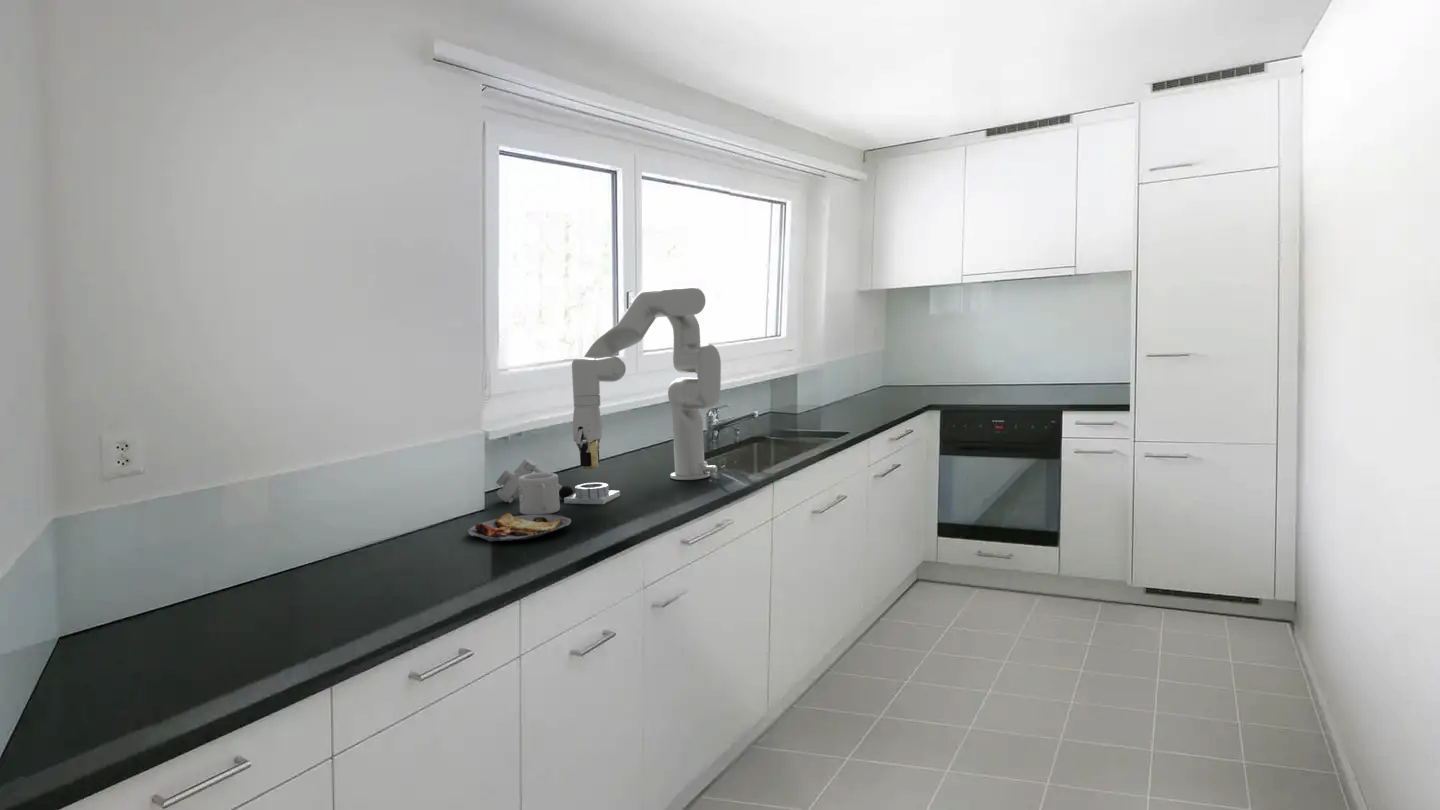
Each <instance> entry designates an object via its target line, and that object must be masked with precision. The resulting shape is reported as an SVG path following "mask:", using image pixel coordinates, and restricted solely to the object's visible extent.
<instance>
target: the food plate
mask: <svg viewBox="0 0 1440 810" xmlns="http://www.w3.org/2000/svg"><path fill="white" fill-rule="evenodd" d="M571 522H572V519H571V518H569V517H565V516H562V515H561V514H554V513H551V514H545V515H524V514H521V515H512V513H510V512H506V513H504V514H503V515H501V516H500V517H498V518H494V519H490V520H487V521H483V522H479V523H475V524H473V525H472V526H470V527H469V528H468V529H466V534H468V536H469V537H478V538H481V539H484V540H486V541H488V542H489V543H490V542H497V541H498V542H505V541H506V542H507V541H509V542H510V541H511V542H512V541H522V540H529V539H535V538H539V537H542V536H544V535H548V534H551V533H552V532H554V531H558V530H561V529H562V528H564V527H566V526H569V525H570V524H571Z"/></svg>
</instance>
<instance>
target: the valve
mask: <svg viewBox="0 0 1440 810" xmlns="http://www.w3.org/2000/svg"><path fill="white" fill-rule="evenodd" d="M537 466H538V465H537V463H536V462H535V461H534V460H533V459H531V458H528V457H525V458H524V459H523V460H522V462H521V463H520V464H519V465H518V467H517V468H515V470H514V471H513V472H512V471H510V470H509V469H505V470H504V471H503V472H502V474H501V475H500V476H499V477H498V479H497V480H496V482H495V484H497V485H498V486H499V487H502V488H499V489H498V490H497V491H496V494H497V495H498V498H500V499H501V500H503V501H504V502H505V503H507V502H508V503H509V504H511V503H512V502H513V501H514V498H517V496H519V484H518V478H519V477H520V476H522V475H526V474H532V473H545V472H544V471H542V470H541V469H539V468H538V467H537ZM558 490H559V498H560V499H562V500H563V501H564V498H566V497H568V496H570V495H572V494H574V490H573V487H571V486H569V485H563V486H562V485H561V484H560V483H558Z"/></svg>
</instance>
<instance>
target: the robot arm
mask: <svg viewBox="0 0 1440 810" xmlns="http://www.w3.org/2000/svg"><path fill="white" fill-rule="evenodd" d="M705 306H706V296H705V293H704V292H703V291H702V290H701V289H700V288H698V287H696V286H683V287H667V288H666V287H665V288H652V289H651V288H650V289H649V288H648V289H644V290H641V291H640V292H639V293H638V294H636V296H635V297H634V299H633V300H632V302H631V304H630V305H629V307H628V308H627V310H626V311H625V313H624V314H623V316H622V317H621V319H620V320H619V321H618V323H617V324H615V326H613V327H611V328H610V329H608V331H606V332H605V333H604V334H602V335H601V336H600V337H599V338H597V339H596V340H595V341H594V342H593V344H592V345H591V346H590V347H589V349H588V350H587V352H586V353H585V355H584V356H583V358H582V357H579V358H578V357H577V358H574V359H573V360H572V362H571V375H572V376H571V377H572V393H573V394H572V396H573V397H572V398H573V415H572V440H573V441H574V442H575V444H576V446H577V448H578V452H579V459H580V460H579V461H580V467H581V468H582V467H590V466H592V463H591V452H590V442H591V441H597V449H598V464H600V442H601V441H600V440H601V438H602V433H603V431H602V430H603V429H602V416H601V410H600V409H601V408H600V407H601V394H600V393H601V390H600V389H601V387H600V382H604V383H605V382H606V383H608V382H609V383H612V382H617V381H619V380H621V379H622V378H623V377H624V375H625V373H626V371H627V370H626V369H627V368H626V364H625V362H624V361H623V359H622V358H620V357H618V356H615V355H616V354H617V353H619V352H621V351H622V350H625V349H627V348H630V347H632V346H634V345H636V344H638V343H640V342H641V341H642V340H643V339H644V337H645V336H646V334H647V333H648V331H649V330H650V328H651V327H652V325H653V324H654V322H655V320H656V319H657V318H667V320H668V322H669V323H670V325H671V327H672V328H671V329H672V362H673V363H672V364H673V367H674V369H675V370H676V371H677V372H678V373H682V374H692V375H693V374H694V375H695V374H696V376H697V377H680V378H676V379H675V380H673V381H671V383H670V384H669V387H668V390H667V396H668V402H669V406H670V410H671V417H672V418H671V419H672V433H673V434H672V436H673V457H674V458H673V459H674V460H673V461H674V472H671V473H670V474H669V476H670V479H672V480H679V481H694V480H702V479H706V478H709V477H710V476H711V473H717V472H718V466H717V465H709V464H708V461H705V445H704V424H703V423H704V422H703V417H702V415H701V412H700V411H699V410H710V409H713V408H714V407H716V406H717V404H718V403H719V401H720V399H721V398H720V397H721V384H722V383H721V378H722V376H721V375H722V374H721V373H722V372H721V371H722V368H721V367H722V366H721V365H722V362H721V356H720V352H719V350H718V349H717V348H716V346H714V345H713V344H711V343H708V342H707V343H706V342H703V343H701V332H700V331H701V329H700V324H699V321H698V319H697V317H696V316H695V315H698V314H700V313H701V312H702V311H703V310H704V309H705ZM585 444H587V445H585Z"/></svg>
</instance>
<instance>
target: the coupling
mask: <svg viewBox="0 0 1440 810" xmlns="http://www.w3.org/2000/svg"><path fill="white" fill-rule="evenodd" d="M585 445H587V444H585ZM598 450H599V449H597V441H591V442H590V452H591V463H592V466H590V467H582V466H581V469H583V470H592V469H593V470H594V469H597V468H599V463H598Z"/></svg>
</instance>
